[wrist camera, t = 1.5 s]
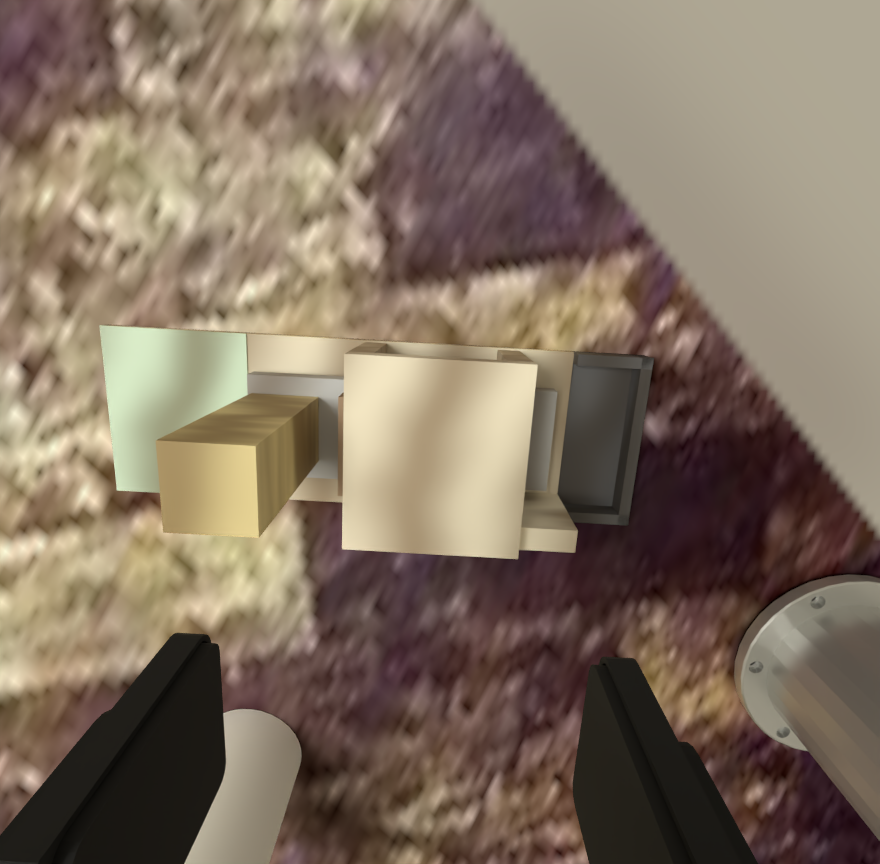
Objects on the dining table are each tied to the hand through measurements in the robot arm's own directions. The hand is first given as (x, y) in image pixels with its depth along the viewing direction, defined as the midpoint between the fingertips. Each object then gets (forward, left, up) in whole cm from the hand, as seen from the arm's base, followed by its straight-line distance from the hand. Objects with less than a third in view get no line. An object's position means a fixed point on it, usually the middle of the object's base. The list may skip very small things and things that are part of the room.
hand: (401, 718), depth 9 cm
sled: (+2, 0, -21) cm, 21 cm away
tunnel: (+3, 0, -22) cm, 22 cm away
